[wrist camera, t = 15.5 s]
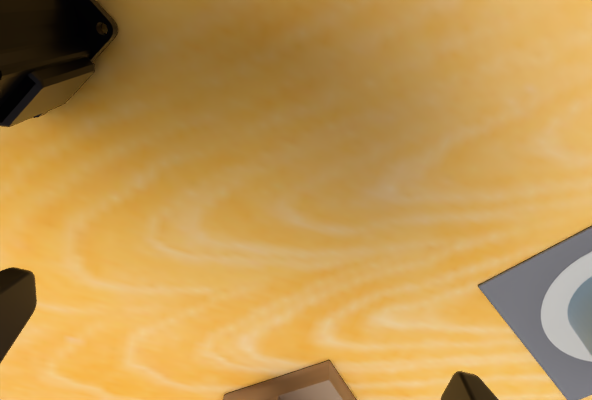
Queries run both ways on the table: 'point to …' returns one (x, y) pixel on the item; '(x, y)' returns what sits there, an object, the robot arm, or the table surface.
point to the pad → (549, 310)
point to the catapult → (299, 386)
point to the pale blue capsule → (582, 313)
